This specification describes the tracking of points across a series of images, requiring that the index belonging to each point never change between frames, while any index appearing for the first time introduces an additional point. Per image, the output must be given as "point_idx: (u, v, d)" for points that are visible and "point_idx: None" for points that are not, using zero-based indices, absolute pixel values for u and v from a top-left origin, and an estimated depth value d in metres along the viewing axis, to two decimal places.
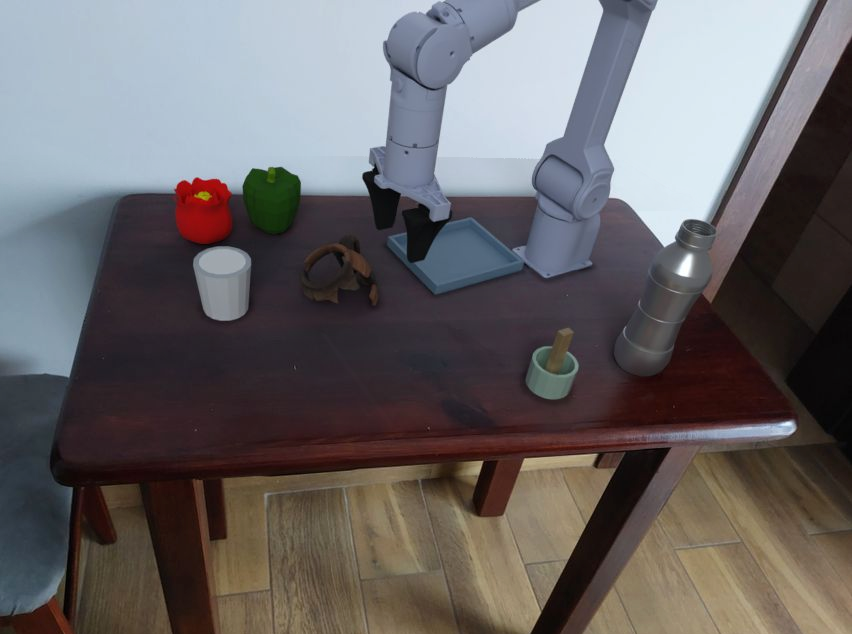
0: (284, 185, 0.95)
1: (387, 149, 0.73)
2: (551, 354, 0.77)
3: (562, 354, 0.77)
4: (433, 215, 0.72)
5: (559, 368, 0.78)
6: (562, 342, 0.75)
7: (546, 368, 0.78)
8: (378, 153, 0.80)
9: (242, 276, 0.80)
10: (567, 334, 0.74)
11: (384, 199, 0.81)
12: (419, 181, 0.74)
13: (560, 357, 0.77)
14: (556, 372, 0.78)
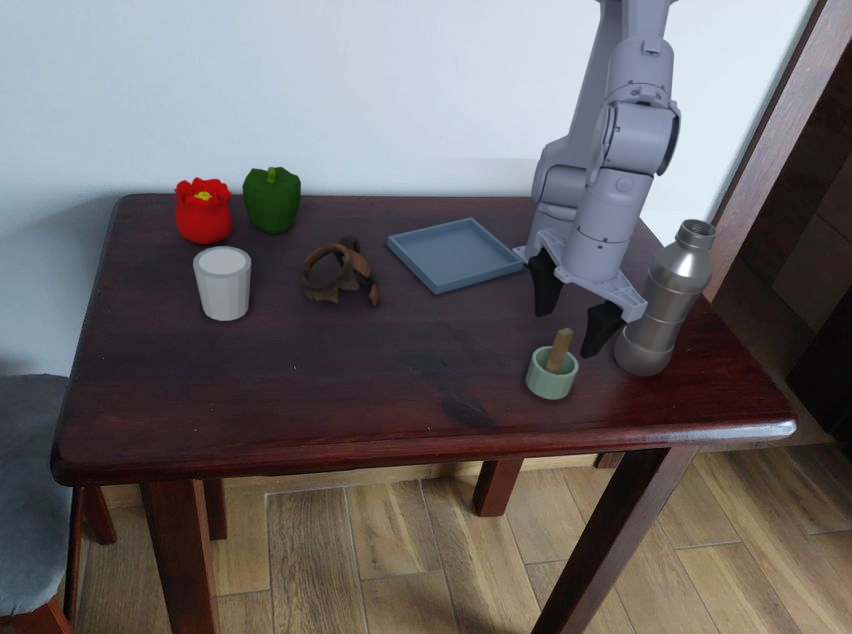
0: (284, 185, 0.95)
1: (574, 241, 0.66)
2: (551, 354, 0.77)
3: (562, 354, 0.77)
4: (628, 316, 0.65)
5: (559, 368, 0.78)
6: (562, 342, 0.75)
7: (546, 368, 0.78)
8: (546, 236, 0.73)
9: (242, 276, 0.80)
10: (567, 334, 0.74)
11: (549, 286, 0.74)
12: (607, 276, 0.67)
13: (560, 357, 0.77)
14: (556, 372, 0.78)
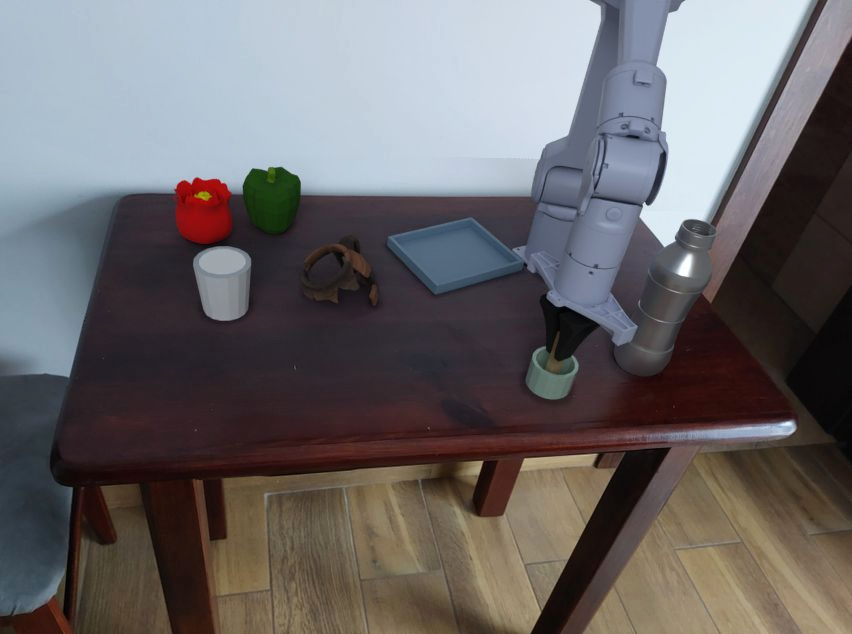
0: (284, 185, 0.95)
1: (566, 266, 0.68)
2: (551, 354, 0.77)
3: None
4: (618, 339, 0.67)
5: (559, 368, 0.78)
6: None
7: (546, 368, 0.78)
8: (539, 259, 0.75)
9: (242, 276, 0.80)
10: None
11: None
12: (598, 300, 0.69)
13: None
14: (556, 372, 0.78)
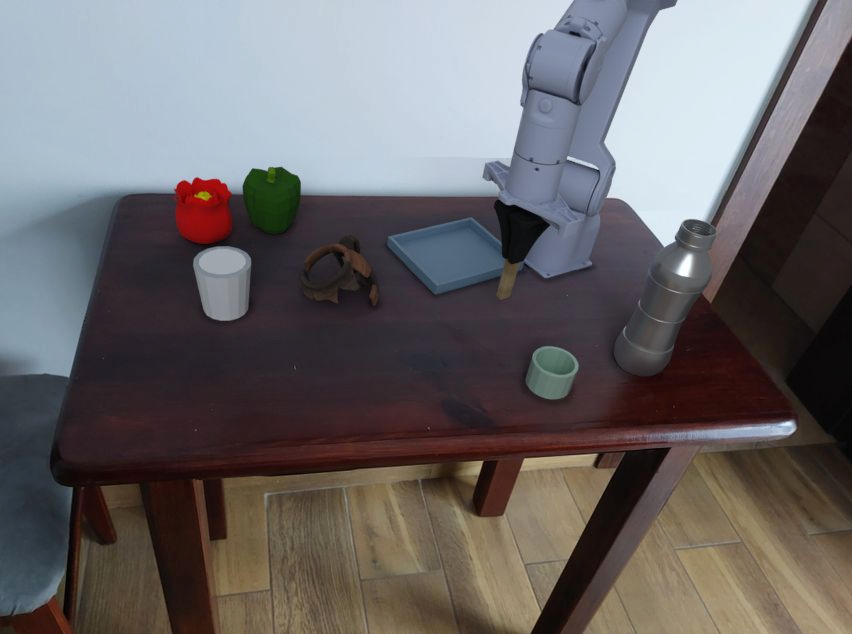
0: (284, 185, 0.95)
1: (514, 165, 0.72)
2: (505, 266, 0.82)
3: (515, 266, 0.82)
4: (563, 232, 0.71)
5: (513, 280, 0.84)
6: None
7: (501, 281, 0.84)
8: (493, 167, 0.79)
9: (242, 276, 0.80)
10: None
11: None
12: (546, 198, 0.73)
13: (513, 269, 0.82)
14: (510, 284, 0.84)
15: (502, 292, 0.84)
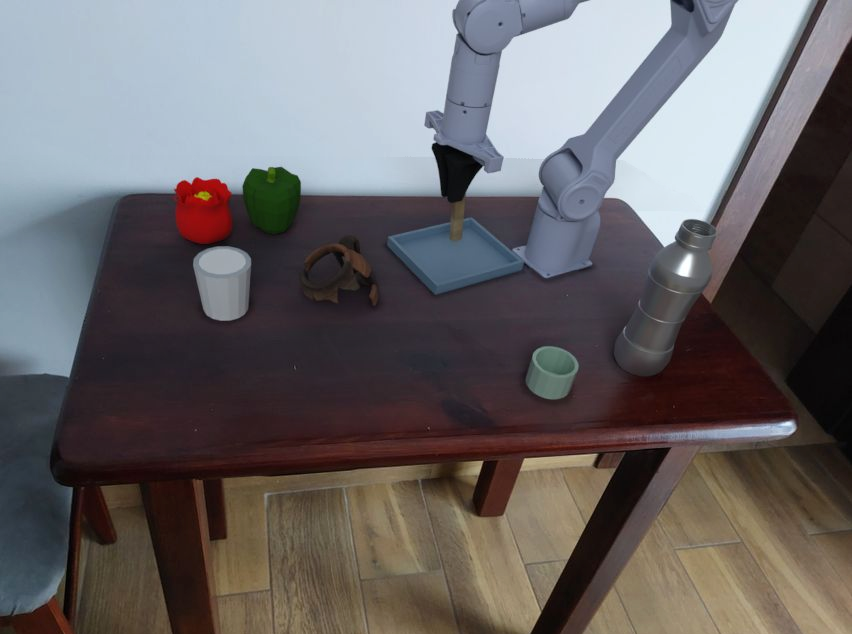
0: (284, 185, 0.95)
1: (446, 110, 0.83)
2: (451, 212, 0.94)
3: (460, 211, 0.94)
4: (488, 167, 0.82)
5: (461, 224, 0.95)
6: None
7: (450, 225, 0.95)
8: (433, 116, 0.90)
9: (242, 276, 0.80)
10: None
11: None
12: (474, 138, 0.83)
13: (459, 213, 0.94)
14: (459, 228, 0.96)
15: (453, 235, 0.96)
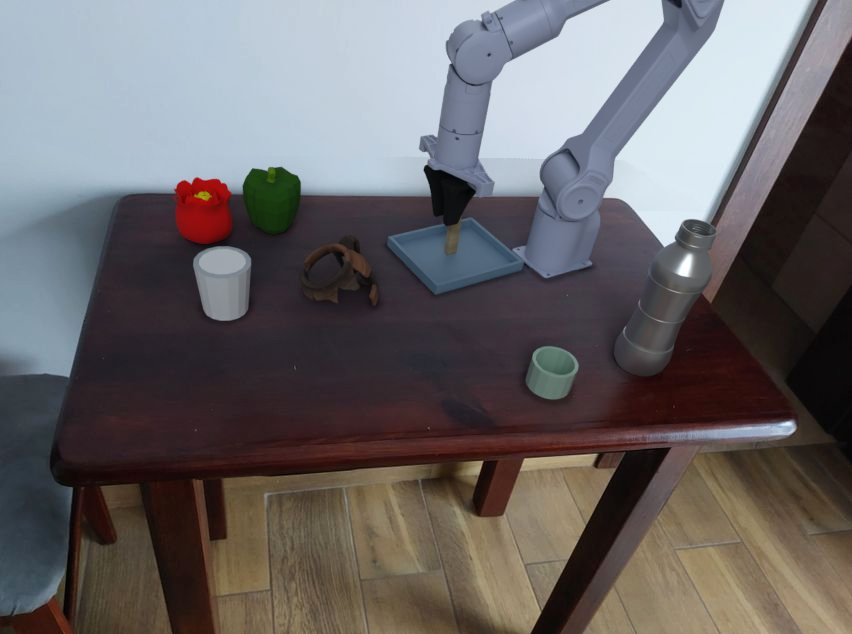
0: (284, 185, 0.95)
1: (439, 136, 0.86)
2: None
3: (457, 224, 0.96)
4: (479, 192, 0.85)
5: (457, 238, 0.98)
6: None
7: (446, 238, 0.98)
8: (427, 140, 0.93)
9: (242, 276, 0.80)
10: None
11: (442, 189, 0.92)
12: (466, 164, 0.86)
13: (456, 227, 0.96)
14: (455, 241, 0.98)
15: (448, 248, 0.98)
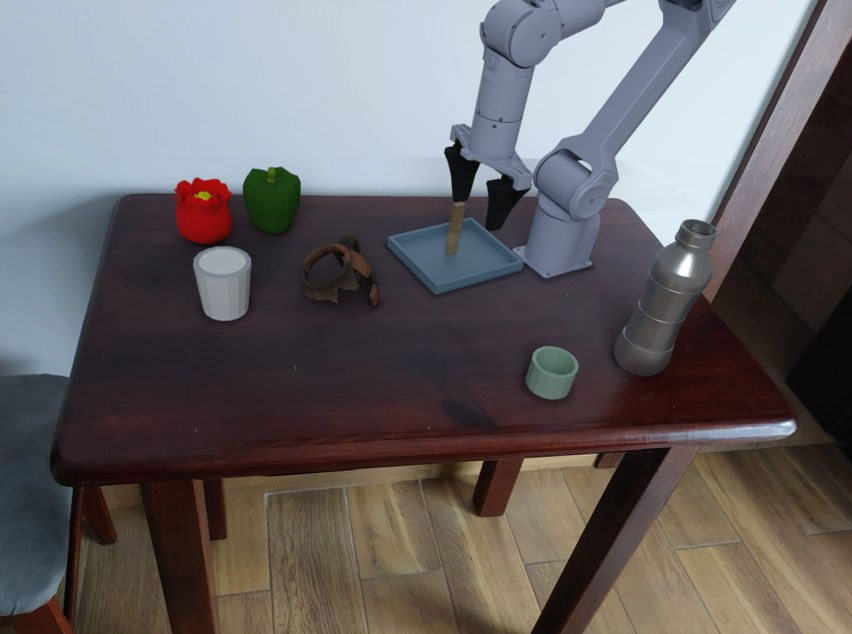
0: (284, 185, 0.95)
1: (475, 124, 0.80)
2: (450, 225, 0.96)
3: (458, 224, 0.96)
4: (517, 184, 0.79)
5: (457, 238, 0.98)
6: (456, 212, 0.94)
7: (447, 238, 0.98)
8: (459, 129, 0.87)
9: (242, 276, 0.80)
10: (460, 206, 0.94)
11: (463, 173, 0.88)
12: (503, 154, 0.80)
13: (457, 227, 0.96)
14: (455, 241, 0.98)
15: (448, 248, 0.98)
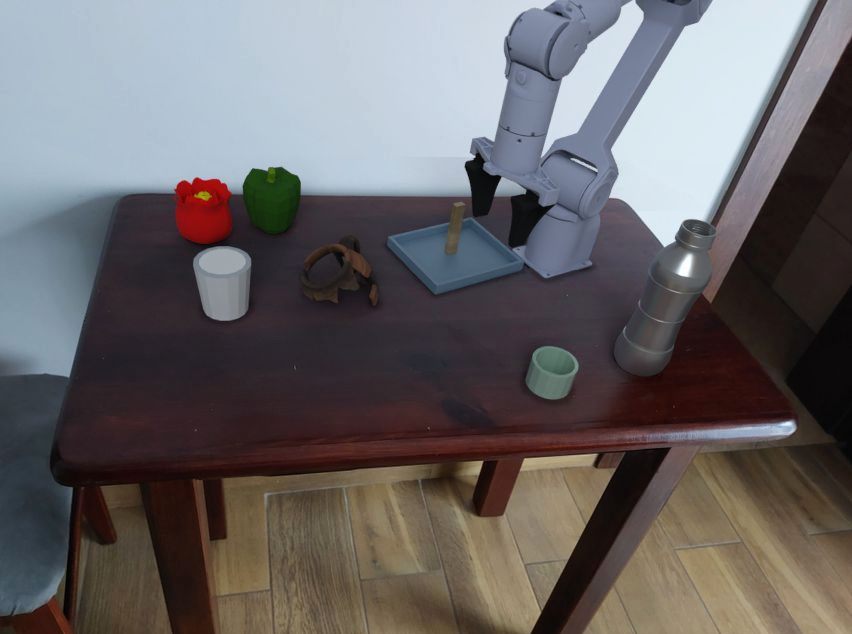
0: (284, 185, 0.95)
1: (499, 138, 0.77)
2: (450, 225, 0.96)
3: (458, 224, 0.96)
4: (543, 200, 0.76)
5: (457, 238, 0.98)
6: (456, 212, 0.94)
7: (447, 238, 0.98)
8: (480, 143, 0.84)
9: (242, 276, 0.80)
10: (460, 206, 0.94)
11: (484, 187, 0.85)
12: (528, 169, 0.78)
13: (457, 227, 0.96)
14: (455, 241, 0.98)
15: (448, 248, 0.98)
